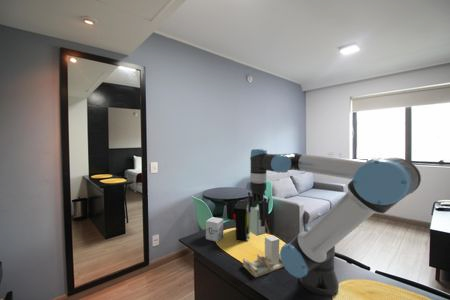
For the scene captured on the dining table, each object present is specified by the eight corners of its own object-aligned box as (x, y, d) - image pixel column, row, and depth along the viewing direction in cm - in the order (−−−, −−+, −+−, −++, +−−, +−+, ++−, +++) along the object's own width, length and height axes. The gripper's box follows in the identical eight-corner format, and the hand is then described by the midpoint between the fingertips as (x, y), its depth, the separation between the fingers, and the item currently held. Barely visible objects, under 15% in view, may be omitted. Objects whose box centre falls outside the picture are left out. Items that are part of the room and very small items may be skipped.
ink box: (212, 233, 137) (212, 216, 137) (223, 236, 134) (223, 218, 133) (205, 239, 130) (205, 220, 129) (217, 242, 126) (217, 223, 125)
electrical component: (249, 241, 126) (249, 209, 126) (232, 240, 128) (233, 208, 128) (251, 229, 144) (251, 201, 143) (236, 228, 146) (237, 200, 145)
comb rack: (286, 265, 102) (286, 258, 101) (255, 277, 92) (255, 269, 92) (272, 256, 110) (272, 249, 110) (243, 266, 101) (243, 258, 101)
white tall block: (279, 262, 103) (279, 238, 102) (271, 265, 100) (271, 241, 100) (272, 257, 107) (272, 235, 106) (264, 260, 104) (264, 237, 104)
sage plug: (265, 233, 98) (265, 208, 97) (256, 235, 95) (257, 210, 95) (258, 229, 102) (258, 205, 102) (250, 231, 100) (250, 207, 99)
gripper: (277, 184, 92) (277, 236, 93) (253, 178, 108) (252, 222, 108) (264, 186, 88) (263, 239, 89) (241, 179, 104) (240, 225, 105)
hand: (257, 230), depth 99 cm, fingers closed on sage plug, 5 cm apart
